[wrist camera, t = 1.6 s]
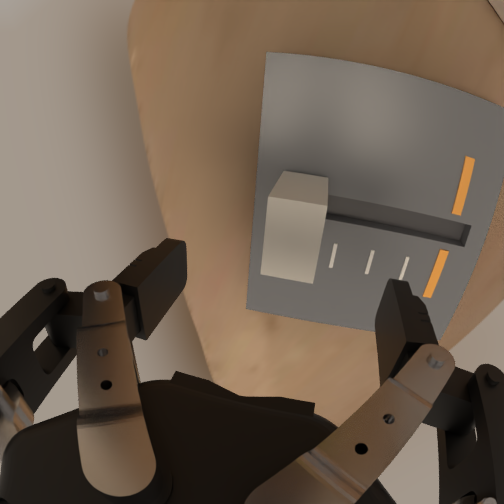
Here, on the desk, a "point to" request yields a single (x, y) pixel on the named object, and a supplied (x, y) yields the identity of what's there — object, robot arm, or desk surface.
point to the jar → (498, 7)
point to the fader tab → (294, 226)
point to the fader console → (377, 186)
